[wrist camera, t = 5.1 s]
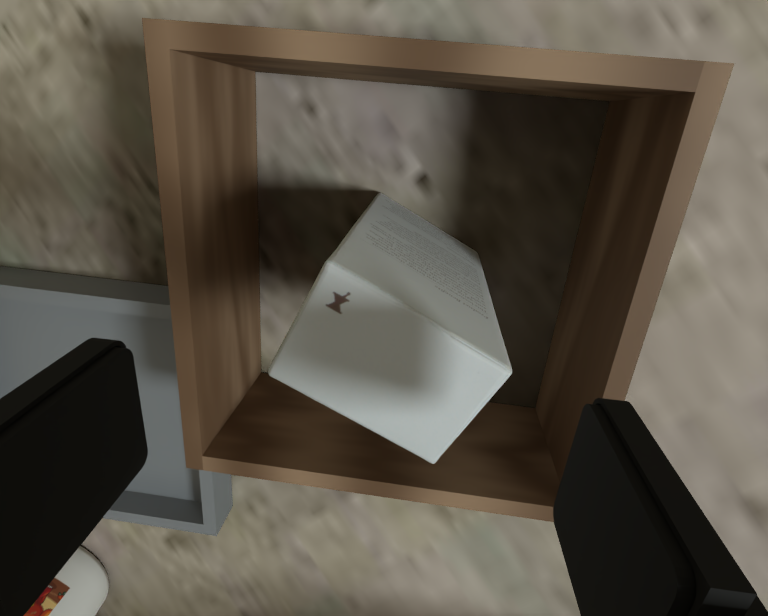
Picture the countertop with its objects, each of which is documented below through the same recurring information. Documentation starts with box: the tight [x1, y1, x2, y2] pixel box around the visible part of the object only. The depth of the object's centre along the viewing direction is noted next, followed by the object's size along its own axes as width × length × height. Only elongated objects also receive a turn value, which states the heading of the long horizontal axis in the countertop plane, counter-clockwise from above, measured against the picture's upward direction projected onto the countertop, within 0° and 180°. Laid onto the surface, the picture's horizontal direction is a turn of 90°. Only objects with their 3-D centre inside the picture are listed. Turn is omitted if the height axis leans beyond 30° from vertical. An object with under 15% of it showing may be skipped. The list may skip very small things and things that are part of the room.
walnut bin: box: [142, 18, 734, 522], centre depth 21 cm, size 18×18×8 cm
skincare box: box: [268, 192, 512, 464], centre depth 19 cm, size 6×4×12 cm
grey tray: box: [0, 266, 233, 536], centre depth 28 cm, size 16×16×2 cm
